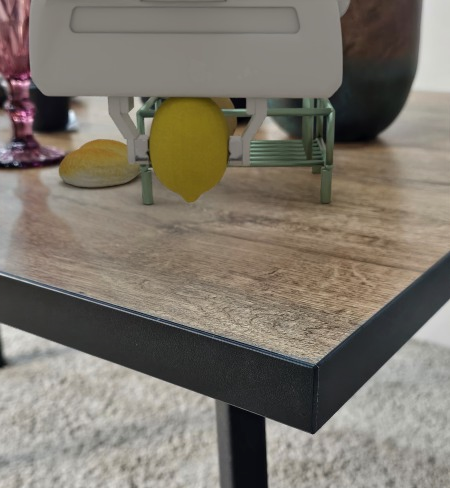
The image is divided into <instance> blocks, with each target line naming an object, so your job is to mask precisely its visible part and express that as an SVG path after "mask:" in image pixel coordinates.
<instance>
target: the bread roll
mask: <svg viewBox="0 0 450 488" xmlns="http://www.w3.org/2000/svg"><path fill="white" fill-rule="evenodd" d="M140 174H141V171H140V170H139V164H136V165H135V164H129V163H128V156H127V143H124V142H121V141H119V140H115V139H107V138H97V139H93V140H90V141H88V142H85V143H84V144H82V145H81V146H80V147H79V148H77V149H74V150H72V151H70V152H69V153H68V154H67V155H66V156H64V158H63V159H62V160H61V162H60V163H59V167H58V175H59V178H60V179H61V180H62V181H63V182H65V183H66V184H69V185H72V186H74V187H79V188H104V187H112V186H113V187H114V186H119V185H124V184H127V183H128V182H131V181H132V180H134V179H135V178H136V177H138V176H139V175H140Z"/></svg>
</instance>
